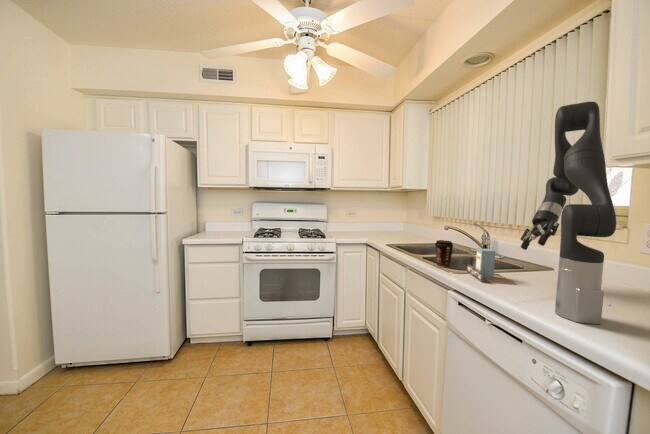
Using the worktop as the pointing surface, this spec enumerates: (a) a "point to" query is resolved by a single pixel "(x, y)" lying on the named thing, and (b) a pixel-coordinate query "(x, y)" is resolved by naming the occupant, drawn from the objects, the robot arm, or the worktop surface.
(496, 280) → the shelf board
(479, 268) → the carton
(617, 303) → the worktop surface
